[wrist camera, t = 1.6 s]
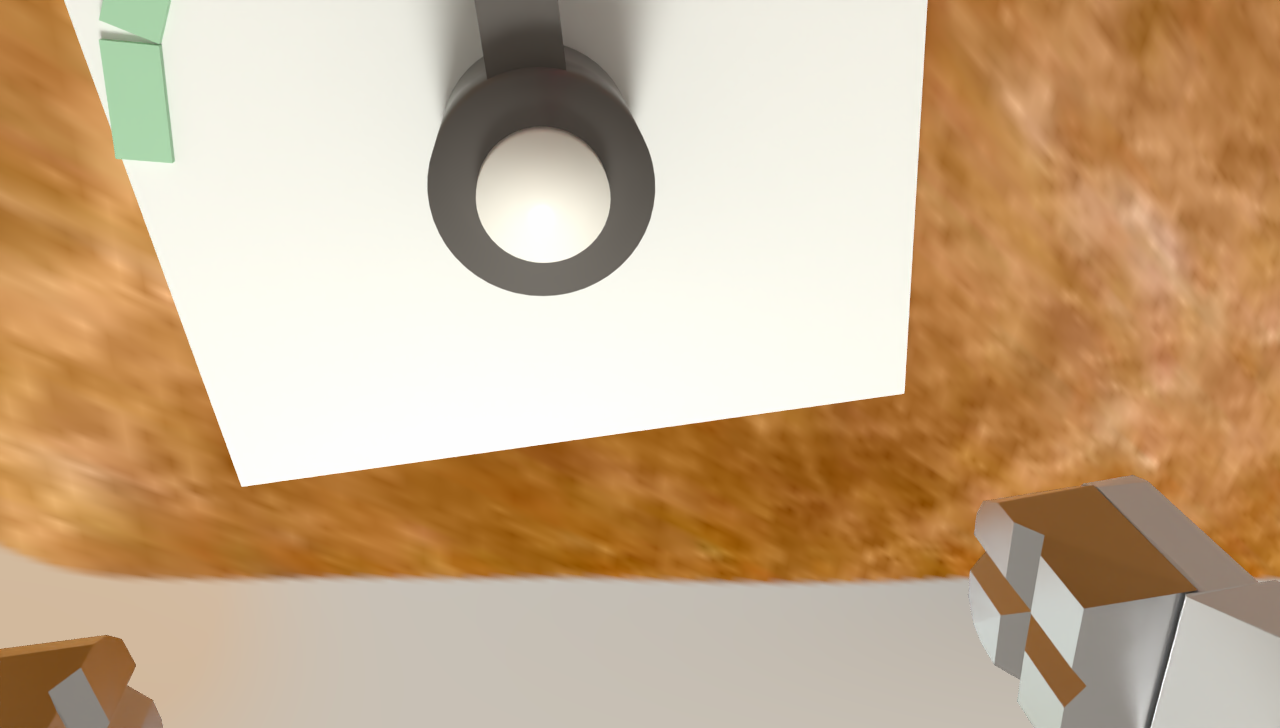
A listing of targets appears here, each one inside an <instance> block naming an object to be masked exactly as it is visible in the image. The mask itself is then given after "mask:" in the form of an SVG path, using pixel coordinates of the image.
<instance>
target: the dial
mask: <svg viewBox="0 0 1280 728" xmlns="http://www.w3.org/2000/svg"><path fill="white" fill-rule="evenodd" d="M474 2H475V8H476V14H477V20H478V26H479V32H480V38H481V44H482V51H483V57H482V58H480V59H479V60H477V61H476V62H475V63H474V64H473V65H472V66H471V67H470V68H468V69H467V71H466V72H465V73H464V74H463V75H462V77H461V78H460V79H459V81H458V82H457V84H456V85H455V87H454V89H453V90H452V93H451V95H450V97H449V99H448V102H447V105H446V108H445V112H444V115H443V118H442V122H441V125H440V128H439V131H438V135H437V138H436V141H435V145H434V148H433V151H432V155H431V158H430V162H429V169H428V176H427V192H428V200H429V207H430V210H431V214H432V217H433V221H434V223H435V225H436V228H437V230H438V232H439V234H440V236H441V238H442V239H443V241H444V243H445V244H446V246H447V247H448V249H449V250H450V251H451V252H452V254H453V255H454V256H455V258H456V259H458V260H459V261H460V262H461V263H462V264H463V265H464V266H465V267H466V268H467V269H468V270H470V271H471V272H472V273H473V274H475V275H476V276H477V277H479V278H481V279H483V280H484V281H486V282H488V283H489V284H492V285H494V286H496V287H499V288H501V289H504V290H507V291H510V292H514V293H518V294H524V295H530V296H554V295H562V294H567V293H572V292H575V291H578V290H581V289H585V288H587V287H589V286H591V285H593V284H595V283H598V282H599V281H601V280H602V279H604V278H606V277H607V276H609V275H610V274H612V273H613V272H614V271H615V270H616V269H618V268H619V267H620V266H621V265H622V264H623V263H624V262H625V261H626V260H627V259H628V258H629V257H630V256H631V254H632V253H633V252H634V250H635V249H636V248H637V246H638V245H639V243H640V241H641V239H642V238H643V236H644V234H645V232H646V229H647V227H648V224H649V222H650V219H651V215H652V211H653V207H654V199H655V175H654V168H653V163H652V159H651V156H650V153H649V149H648V147H647V145H646V143H645V140H644V138H643V136H642V134H641V132H640V130H639V128H638V126H637V124H636V122H635V120H634V118H633V116H632V114H631V112H630V110H629V108H628V106H627V104H626V102H625V100H624V98H623V96H622V94H621V92H620V91H619V89H618V87H617V86H616V84H615V82H614V81H613V80H612V79H611V77H610V76H609V75H608V74H607V72H606V71H605V70H603V69H602V68H601V67H600V66H599V65H598V64H597V63H596V62H594V61H593V60H592V59H590V58H589V57H588V56H586V55H584V54H582V53H580V52H579V51H577V50H575V49H572V48H570V47H567V46H564V45H563V38H562V30H561V21H560V13H559V5H558V0H474Z"/></svg>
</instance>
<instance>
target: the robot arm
mask: <svg viewBox="0 0 1280 728" xmlns="http://www.w3.org/2000/svg"><path fill="white" fill-rule="evenodd" d="M974 535H975V536H976V538H977V539H978V541H979V542H980V543H981V545H982V546H983V548H984V549H985V550H986V552H985V553H984V554H983V555H982V557H981V558H980V559H979V560H978V561H977V563H976V564H975V565H974V566H973V567H972V568H971V570H970V579H969V594H968V598H969V603H970V608H971V614H972V619H973V624H974V627H975V629H976V632H977V634H978V636H979V639H980V641H981V644H982V646H983V647H984V649H985V651H986V652H987V654H988V656H989V657H990V659H991V660H992V662H993V664H994V665H995V666H997V667H999V668H1001V669H1002V670H1004V671H1006V672H1007V673H1009V674H1011V675H1013V676H1015V677H1016V678H1018V679H1020V686H1019V693H1018V699H1017V702H1018V703H1019V705H1020V706H1021V708H1022V710H1023V711H1024V713H1025V714H1026V716H1027V718H1028V719H1029V721H1030V722H1031V724H1032V725H1033V727H1034V728H1280V582H1278V581H1276V580H1273V581H1266V582H1260V583H1259V582H1258V581H1256V580H1255V579H1254V578H1253V577H1252V576H1251V575H1250V574H1249V573H1248V572H1247V571H1245V570H1244V569H1243V568H1242V567H1241V566H1240V565H1239V564H1238V563H1237V562H1236V561H1235V560H1233V559H1232V558H1231V557H1230V556H1229V555H1228V554H1227V553H1226V552H1225V551H1224V550H1223V549H1221V548H1220V547H1219V546H1218V545H1217V544H1216V543H1215V542H1214V541H1213V540H1212V539H1210V538H1209V537H1208V536H1207V535H1206V534H1205V533H1204V532H1203V531H1202V530H1201V529H1200V528H1198V527H1197V526H1196V525H1195V524H1194V523H1193V522H1192V521H1191V520H1190V519H1189V518H1188V517H1186V516H1185V515H1184V514H1183V513H1182V512H1181V511H1180V510H1179V509H1178V508H1177V507H1175V506H1174V505H1173V504H1172V503H1171V502H1170V501H1169V500H1168V499H1167V498H1166V497H1165V496H1163V495H1162V494H1161V493H1160V492H1159V491H1158V490H1157V489H1156V488H1155V487H1154V486H1152V485H1151V484H1150V483H1149V482H1148V481H1146V480H1144V479H1141V478H1139V477H1136V476H1133V475H1131V476H1125V477H1119V478H1114V479H1108V480H1102V481H1096V482H1091V483H1085V484H1083V485H1081V486H1074V487H1068V488H1062V489H1055V490H1049V491H1043V492H1036V493H1030V494H1024V495H1018V496H1011V497H1005V498H999V499H993V500H986V501H983V503H982V505H981V507H980V509H979V511H978V513H977V517H976V525H975V532H974ZM135 667H136V664H135V662H134V660H133V659H132V657H131V655H130V653H129V651H128V649H127V648H126V646H125V644H124V642H123V640H122V639H120V638H116V637H112V636H108V635H104V636H96V637H88V638H80V639H74V640H65V641H57V642H50V643H42V644H35V645H27V646H19V647H12V648H4V649H0V728H163V724H162V719H161V717H160V715H159V713H158V711H157V708H156V706H155V704H154V702H153V700H152V699H150V698H148V697H146V696H145V695H143V694H141V693H140V692H138V691H136V690H134V689H132V688H131V687H129V686H127V684H128V682H129V680H130V678H131V676H132V673H133V671H134V669H135Z"/></svg>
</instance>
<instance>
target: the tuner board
mask: <svg viewBox="0 0 1280 728" xmlns="http://www.w3.org/2000/svg"><path fill="white" fill-rule="evenodd" d="M64 1H65V4H66V7H67V10H68V12H69V15H70V18H71V20H72V23H73V26H74V29H75V31H76V34H77V37H78V40H79V42H80V45H81V48H82V51H83V53H84V56H85V59H86V62H87V64H88V67H89V70H90V73H91V75H92V78H93V81H94V83H95V86H96V89H97V92H98V94H99V97H100V100H101V103H102V105H103V108H104V111H105V114H106V116H107V119H108V122H109V125H110V127H111V130H112V137H113V144H114V151H115V158H116V159H122V160H123V163H124V166H125V168H126V171H127V174H128V177H129V179H130V182H131V185H132V188H133V190H134V193H135V196H136V198H137V201H138V204H139V207H140V209H141V212H142V215H143V218H144V220H145V223H146V226H147V229H148V231H149V234H150V237H151V240H152V242H153V245H154V248H155V251H156V253H157V256H158V259H159V261H160V264H161V267H162V270H163V272H164V275H165V278H166V281H167V283H168V286H169V289H170V292H171V294H172V297H173V300H174V303H175V305H176V308H177V311H178V313H179V316H180V319H181V322H182V324H183V327H184V330H185V333H186V335H187V338H188V341H189V344H190V346H191V349H192V352H193V355H194V357H195V360H196V363H197V366H198V368H199V371H200V374H201V376H202V379H203V382H204V385H205V387H206V390H207V393H208V396H209V398H210V401H211V404H212V407H213V409H214V412H215V415H216V418H217V420H218V423H219V426H220V428H221V431H222V434H223V437H224V439H225V442H226V445H227V448H228V450H229V453H230V456H231V459H232V461H233V464H234V467H235V470H236V472H237V475H238V478H239V481H240V483H241V486H242V487H243V486H250V485H257V484H264V483H271V482H279V481H286V480H293V479H300V478H307V477H314V476H321V475H328V474H335V473H343V472H350V471H357V470H364V469H371V468H378V467H385V466H392V465H399V464H407V463H414V462H421V461H428V460H435V459H442V458H449V457H456V456H463V455H471V454H478V453H485V452H492V451H499V450H506V449H513V448H520V447H527V446H535V445H542V444H549V443H556V442H563V441H570V440H577V439H584V438H591V437H599V436H606V435H613V434H620V433H627V432H634V431H641V430H648V429H655V428H663V427H670V426H677V425H684V424H691V423H698V422H705V421H712V420H719V419H727V418H734V417H741V416H748V415H755V414H762V413H769V412H776V411H783V410H791V409H798V408H805V407H812V406H819V405H826V404H833V403H840V402H847V401H855V400H862V399H869V398H876V397H883V396H890V395H897V394H904V390H905V373H906V356H907V339H908V322H909V305H910V288H911V271H912V254H913V237H914V220H915V203H916V186H917V169H918V152H919V135H920V118H921V101H922V84H923V67H924V50H925V33H926V17H927V0H558V5H559V13H560V21H561V30H562V38H563V45H564V46H567V47H570V48H572V49H575V50H577V51H579V52H580V53H582V54H584V55H586V56H588V57H589V58H590V59H592V60H593V61H594V62H596V63H597V64H598V65H599V66H600V67H601V68H602V69H603V70H605V71H606V72H607V74H608V75H609V76H610V77H611V79H612V80H613V81H614V82H615V84H616V86H617V87H618V89H619V91H620V92H621V94H622V96H623V98H624V100H625V102H626V104H627V106H628V108H629V110H630V112H631V114H632V116H633V118H634V120H635V122H636V124H637V126H638V128H639V130H640V132H641V134H642V136H643V138H644V140H645V143H646V145H647V147H648V149H649V153H650V156H651V159H652V163H653V168H654V175H655V199H654V207H653V211H652V215H651V219H650V222H649V224H648V227H647V229H646V232H645V234H644V236H643V238H642V239H641V241H640V243H639V245H638V246H637V248H636V249H635V250H634V252H633V253H632V254H631V256H630V257H629V258H628V259H627V260H626V261H625V262H624V263H623V264H622V265H621V266H620V267H619V268H618V269H616V270H615V271H614V272H613V273H612V274H610V275H609V276H607V277H606V278H604V279H602V280H601V281H599V282H598V283H595V284H593V285H591V286H589V287H587V288H585V289H581V290H578V291H575V292H572V293H567V294H562V295H554V296H530V295H524V294H518V293H514V292H510V291H507V290H504V289H501V288H499V287H496V286H494V285H492V284H489V283H488V282H486V281H484V280H483V279H481V278H479V277H477V276H476V275H475V274H473V273H472V272H471V271H470V270H468V269H467V268H466V267H465V266H464V265H463V264H462V263H461V262H460V261H459V260H458V259H456V258H455V256H454V255H453V254H452V252H451V251H450V250H449V249H448V247H447V246H446V244H445V243H444V241H443V239H442V238H441V236H440V234H439V232H438V230H437V228H436V225H435V223H434V221H433V217H432V214H431V210H430V207H429V200H428V192H427V176H428V169H429V162H430V158H431V155H432V151H433V148H434V145H435V141H436V138H437V135H438V131H439V128H440V125H441V122H442V118H443V115H444V112H445V108H446V105H447V102H448V99H449V97H450V95H451V93H452V90H453V89H454V87H455V85H456V84H457V82H458V81H459V79H460V78H461V77H462V75H463V74H464V73H465V72H466V71H467V69H468V68H470V67H471V66H472V65H473V64H474V63H475V62H476V61H477V60H479V59H480V58H482V57H483V51H482V44H481V38H480V32H479V26H478V20H477V14H476V8H475V2H474V0H64Z"/></svg>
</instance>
